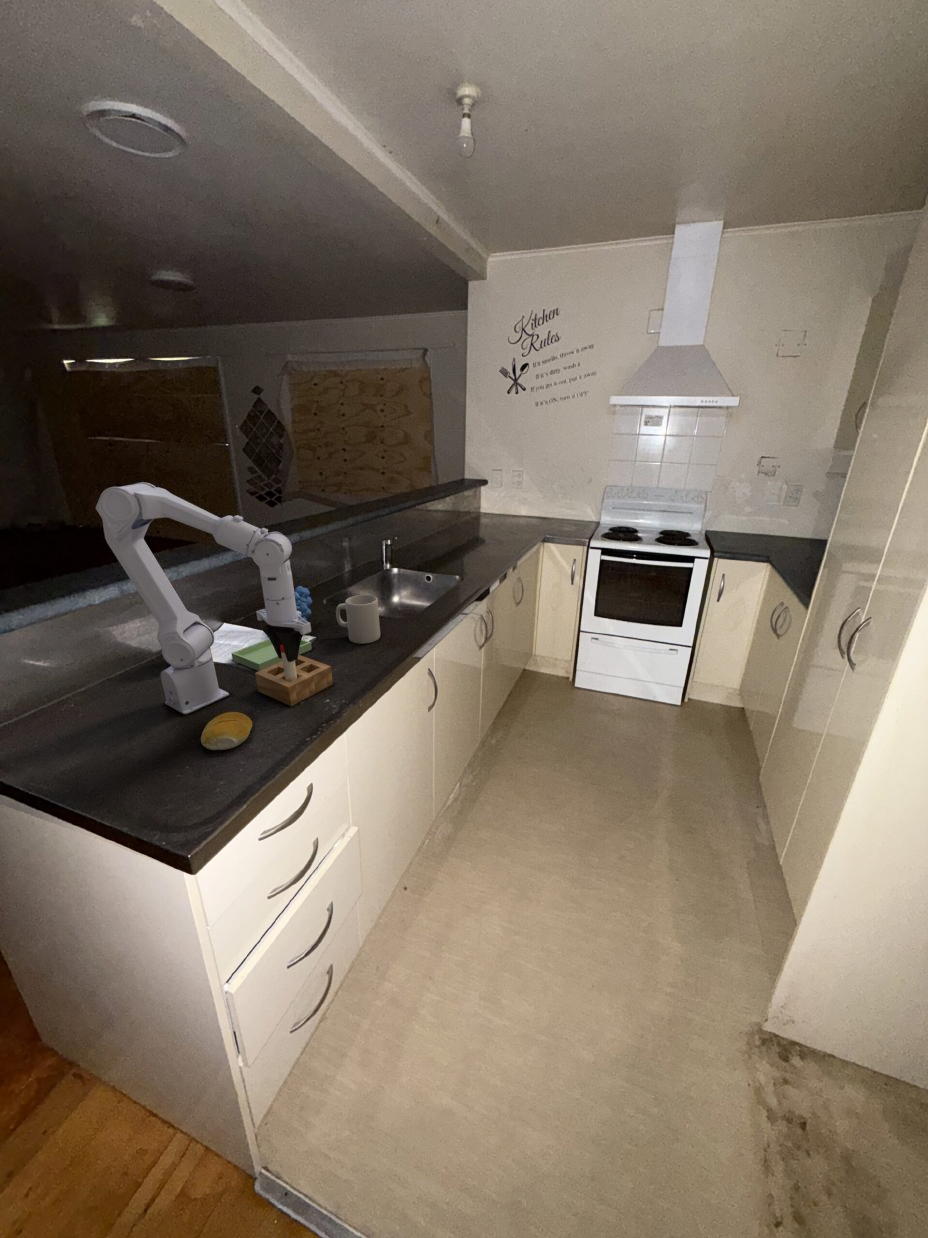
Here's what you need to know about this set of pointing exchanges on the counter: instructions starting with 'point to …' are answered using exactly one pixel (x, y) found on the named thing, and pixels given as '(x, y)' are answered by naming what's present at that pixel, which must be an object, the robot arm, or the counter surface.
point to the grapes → (303, 601)
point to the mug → (361, 618)
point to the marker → (288, 667)
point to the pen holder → (307, 683)
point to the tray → (263, 654)
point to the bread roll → (226, 731)
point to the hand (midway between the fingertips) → (288, 658)
